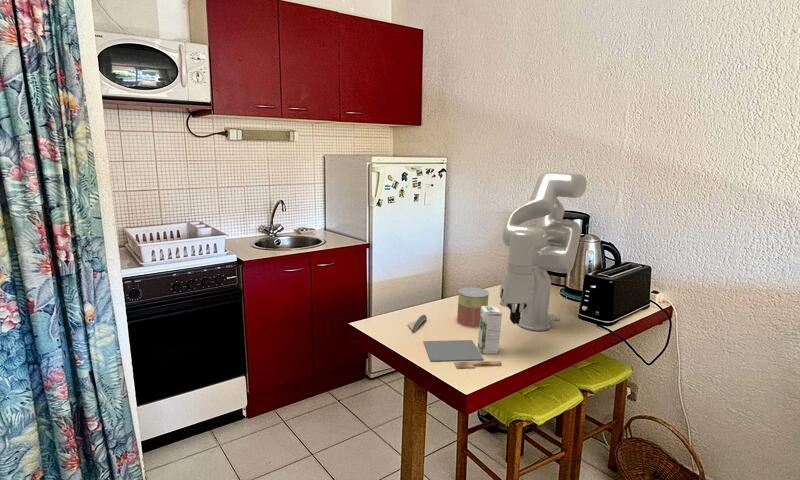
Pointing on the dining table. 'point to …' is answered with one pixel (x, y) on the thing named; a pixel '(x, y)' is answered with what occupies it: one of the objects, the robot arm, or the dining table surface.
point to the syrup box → (489, 329)
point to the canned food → (471, 306)
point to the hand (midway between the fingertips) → (514, 322)
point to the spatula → (476, 364)
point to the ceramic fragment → (417, 323)
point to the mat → (452, 350)
